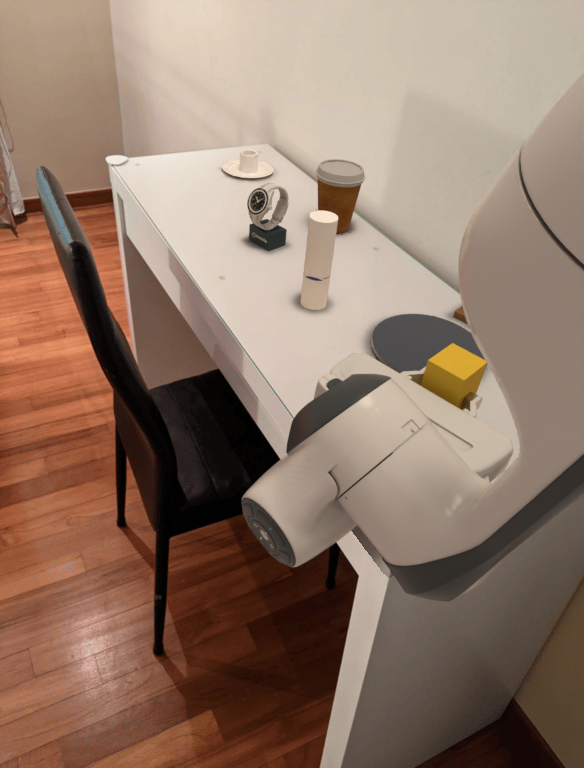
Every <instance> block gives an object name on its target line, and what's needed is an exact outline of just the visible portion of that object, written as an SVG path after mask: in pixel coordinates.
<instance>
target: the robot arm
mask: <svg viewBox="0 0 584 768" xmlns="http://www.w3.org/2000/svg"><path fill="white" fill-rule="evenodd" d="M457 267H458V274H457V275H458V288H459V295H460V300H461V307H462V306H463V311H464V314H465V318H466V321H467V324H466V325H467V326H468V329H469V332H470V333H471V334H472V336H473V338H474V340H475V342H476V344H477V346H478V348H479V350H480V352H481V353H482V355H483V357H484V359H485V361H486V362H487V366H488V368H489V370H490V371H491V373H492V376H493V377H494V379H495V381H496V383H497V385H498V387H499V389H500V391H501V393H502V395H503V398H504V400H505V402H506V405H507V407H508V409H509V412H510V415H511V418H512V420H513V424H514V426H515V430H516V434H517V438H518V449H519V450H518V454H517V455H518V456H517V457H516V458H515V459H514V460H513V461H512V462H511V463H510V461H511V459H512V456H513V454H514V451H515V449H514V444H513V441H512V439H511V438H510V437H509V436H507V435H505V434H503V433H502V432H500V431H498V430H496V428H493V427H492V426H490V425H488V424H486V423H485V422H483V421H482V420H480V419H478V418H477V416H478V415H477V414H478V410H479V408H480V407H481V404H482V402H483V399H484V398H483V397H482V396H481V395H479V394H477V393H476V394H475V393H473V392H470V393H469V394H467V395H466V396H465V397H464V399H463V403H462V405H461V408H460V409H459V408H457V407H456V406H454V405H452V404H451V403H449V402H447V401H446V400H444V399H442V398H440V397H439V396H437V395H435V394H434V393H432V392H430V391H429V390H427V389H425V388H424V387H422V386H421V382H422V379H423V375H424V372H425V369H426V367H424V368H423V369H421V370H420V371H403V372H401V373H398V372H396V371H395V370H393V369H391V368H390V367H388V366H386V365H384V364H383V363H382V362H381V361H380V360H379V359H376V358H374V357H373V356H371V355H369V354H368V353H365V352H352V353H351V354H349V355H347V356H345V357H344V358H342V359H341V360H339V361H338V362H337V363H336V364H335V365H334V366H332V367H331V369H330V370H329V374H328V373H327V374H324V375H323V376H321V377H319V378H318V379H317V383H316V386H315V390H314V395H313V399H311V401H309V402H308V403H307V404H305V405H304V406H303V407H302V408H301V409H300V410H299V411H298V412H297V413H296V414H295V416H294V417H293V419H292V421H291V423H290V428H289V433H288V437H287V442H286V449H285V451H286V452H285V453H286V455H284V456H283V457H282V458H281V459H279V460H278V461H277V462H275V464H273V465H272V466H271V467H270V468H269V469H267V471H266V472H264V473H263V474H262V475H261V476H260V477H259V478H258V479H256V481H255V482H254V483H253V484H252V485H251V486H250V487H249V488H248V489H247V490H246V491H245V493H244V494H243V495H242V497H241V501H240V503H241V508H242V515H243V518H244V520H245V522H246V523H247V526H248V528H249V530H250V531H251V532H252V534H253V535H254V537H255V538H256V539H257V541H258V542H259V543H260V545H261V546H262V547H263V548H264V549H265V551H266V552H267V553H268V554H269V555H270V556H271V557H273V558H274V559H275V560H276V561H277V562H278V563H280V564H283V565H285V566H287V567H289V568H297V567H300V566H302V565H303V564H305V563H307V562H308V561H311V560H312V559H314V558H315V557H317V556H319V555H320V554H322V553H323V552H324V551H325V550H327V549H330V547H332V546H334V544H336V543H337V542H339V541H340V540H342V539H343V538H344V537H345V536H346V535H348V534H349V533H350V532H352V530H354V529H355V528H358V529H359V530H360V531H361V532H362V533H363V535H364V536H365V537H366V538H367V540H368V541H369V542H370V544H372V546H373V547H374V549H376V551H377V552H378V553H379V555H380V556H381V559H382V561H383V563H384V564H385V565H386V567H387V569H389V571H390V573H391V574H392V575H393V577H394V578H395V580H396V581H397V582H398V584H399V586H400V587H401V588H402V590H403V592H404V593H405V594H407V595H411V596H414V597H417V598H422V599H426V600H431V601H437V602H451V601H453V600H455V599H457V598H460V597H462V596H465V595H466V594H468V593H470V592H472V591H473V590H474V589H476V588H478V587H479V586H481V584H483V583H484V582H485V581H486V580H488V578H489V577H490V576H491V575H492V574H493V573H494V572H495V571H496V570H497V569H498V567H499V566H500V565H501V563H502V562H503V561H504V559H505V558H506V557H507V556H508V555H509V554H510V553H512V552H513V551H514V550H515V549H517V548H518V547H519V546H520V545H522V544H523V543H524V542H526V540H528V539H529V538H530V537H532V536H533V535H534V534H535V533H536V532H538V531H540V529H542V528H543V527H544V526H545V525H547V524H548V523H549V522H550V521H552V520H553V519H554V518H556V517H557V516H558V515H559V514H560V513H561V512H563V511H565V510H566V509H567V508H568V507H569V506H570V505H572V504H573V503H574V502H575V501H576V500H578V499H579V498H580V497H582V495H583V494H584V71H583V72H582V73H581V74H580V75H579V77H577V79H576V80H575V81H574V82H573V84H571V86H569V88H567V90H566V91H565V92H564V93H563V94H562V96H560V97H559V99H558V100H556V102H555V103H554V104H553V106H552V107H551V108H550V109H549V110H548V112H547V113H546V114H545V115H544V116H543V117H542V119H541V120H540V121H539V122H538V124H537V125H536V126H535V127H534V129H533V130H532V131H531V132H530V134H528V136H527V137H526V139H525V140H524V141H522V143H521V144H520V146H519V147H518V148H517V149H516V151H515V152H514V153H513V154H512V156H511V157H510V158H509V160H508V161H507V162H506V164H505V165H504V166H503V168H502V169H501V170H500V171H499V172H498V174H497V176H496V177H495V178H494V180H493V181H492V182H491V184H490V186H489V187H488V188H487V190H486V191H485V193H484V194H483V196H482V198H481V199H480V201H479V203H478V204H477V206H476V207H475V209H474V210H473V213H472V214H471V217H470V219H469V221H468V223H467V225H466V227H465V229H464V232H463V236H462V239H461V242H460V247H459V253H458V266H457ZM509 463H510V465H509ZM492 481H493V482H492Z"/></svg>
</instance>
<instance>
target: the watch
mask: <svg viewBox="0 0 584 768" xmlns="http://www.w3.org/2000/svg"><path fill="white" fill-rule="evenodd" d="M275 190H278V192H279V198H278V200H277V203H276V205H275V208H274V209H273V206H272V205H273V197H274V196H275V195H274V194H275ZM289 205H290V204H289V193H288V191H287V190H286V188H284V187H282V186H281V185H279V184H277V183H274V182H267V183H264V184H261V185H260V186H259V187H256V188H254V189H253V190H252V191H251V192H250V194H249V195H248V197H247V203H246V206H247V210H248V216H249V219H250V221H251V223H249V227H248V228H249V231H248V241H249V242H252V243H254V244H255V245H257V246H259V247H261V248H262V249H264V250H265V251H267V252H270V251H272V250H276V249H279V248H282V247H284V246H286V243H287V242H286V241H287V228H284V227H283V226H281V225H280V224H281V223H282V222H283V220H284V218H285V216H286V214H287V211H288V208H289ZM272 209H273V212H272V215H271V218H270V219H268V218H265V219H264V217H265V215H266V214H268V213H269V212H270V211H272Z"/></svg>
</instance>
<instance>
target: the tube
mask: <svg viewBox="0 0 584 768" xmlns="http://www.w3.org/2000/svg"><path fill="white" fill-rule="evenodd" d="M337 225H338V216H337V215H336V214H334V213H332V212H329V211H322V210H319V211H318V210H314V211H311V212H310V213H309V218H308V228H307V235H306V236H307V237H306V246H305V254H304V255H305V256H304V263H303V274H302V283H301V294H300V305H301V306H302V307H303V308H304V309H307V310H311V311H320V310H323V309H325V308H326V307H327V304H328V296H329V290H330V282H331V274H332V267H333V262H334V261H333V260H334V255H335V254H334V253H335V246H336V240H337V233H336V232H337Z"/></svg>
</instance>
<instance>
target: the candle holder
mask: <svg viewBox="0 0 584 768" xmlns="http://www.w3.org/2000/svg"><path fill="white" fill-rule="evenodd" d="M221 169H222V170H223V171H224V172H225V173H227V174H228V175H231V176H234V177H238V178H243V179H259V178H265V177H269V176H270V175H272V174H273V173H274V167H273V166H272V165H271V164H269V163H268V162H265V161H262V160H259V152H258V151H256V150H254V149H241V150H240V151H239V158H235V159H234V158H233V159H230V160H229V159H228V160H226V161H225V162H223V163H222V165H221Z"/></svg>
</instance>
